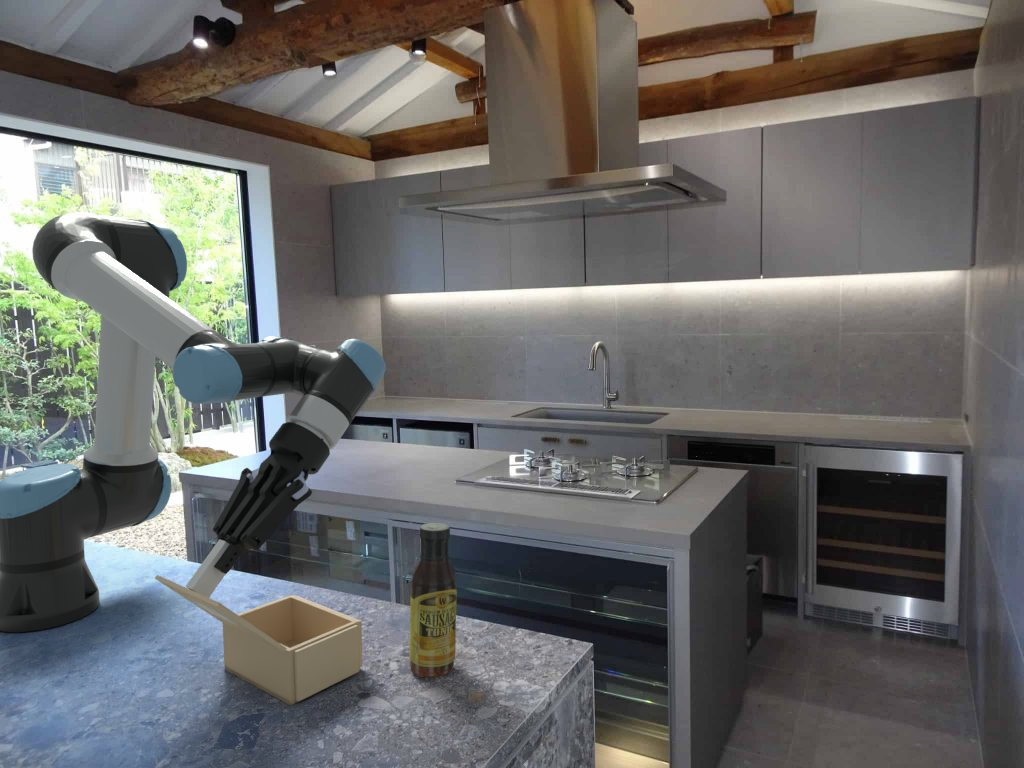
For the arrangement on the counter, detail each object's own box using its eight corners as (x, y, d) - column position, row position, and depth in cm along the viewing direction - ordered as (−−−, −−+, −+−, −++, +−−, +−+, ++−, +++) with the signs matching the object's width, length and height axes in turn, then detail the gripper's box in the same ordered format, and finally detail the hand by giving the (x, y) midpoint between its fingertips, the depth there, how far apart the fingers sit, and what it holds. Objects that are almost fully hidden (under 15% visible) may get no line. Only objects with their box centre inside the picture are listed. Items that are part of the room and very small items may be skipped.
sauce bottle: (418, 685, 94) (416, 536, 92) (403, 664, 99) (400, 523, 98) (464, 673, 97) (463, 529, 95) (447, 654, 102) (445, 517, 101)
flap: (220, 622, 97) (154, 579, 90) (223, 618, 97) (157, 574, 90) (283, 652, 88) (216, 607, 81) (286, 648, 89) (219, 602, 81)
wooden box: (222, 668, 99) (220, 618, 98) (294, 638, 108) (292, 592, 107) (293, 707, 89) (291, 652, 88) (366, 670, 98) (365, 620, 97)
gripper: (355, 458, 96) (248, 620, 85) (296, 447, 104) (190, 595, 93) (321, 423, 92) (203, 590, 80) (262, 415, 100) (146, 566, 88)
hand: (196, 592), depth 87 cm, fingers closed
